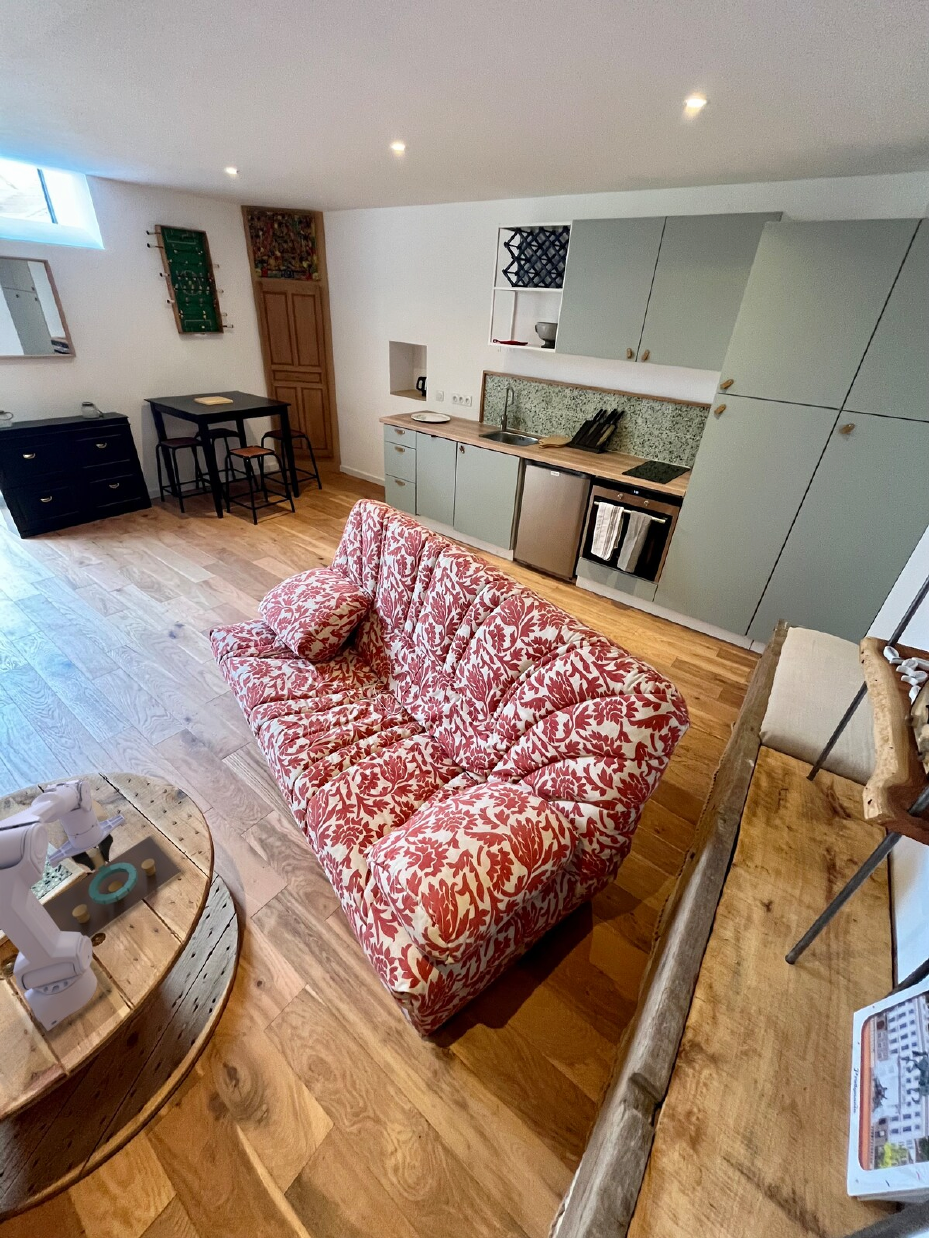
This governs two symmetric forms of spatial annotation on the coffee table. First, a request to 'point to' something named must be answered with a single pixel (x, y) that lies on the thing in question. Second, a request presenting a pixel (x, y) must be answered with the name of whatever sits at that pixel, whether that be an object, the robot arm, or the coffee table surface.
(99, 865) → the ring
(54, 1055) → the coffee table surface
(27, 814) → the robot arm
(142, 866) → the rack
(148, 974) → the coffee table surface
